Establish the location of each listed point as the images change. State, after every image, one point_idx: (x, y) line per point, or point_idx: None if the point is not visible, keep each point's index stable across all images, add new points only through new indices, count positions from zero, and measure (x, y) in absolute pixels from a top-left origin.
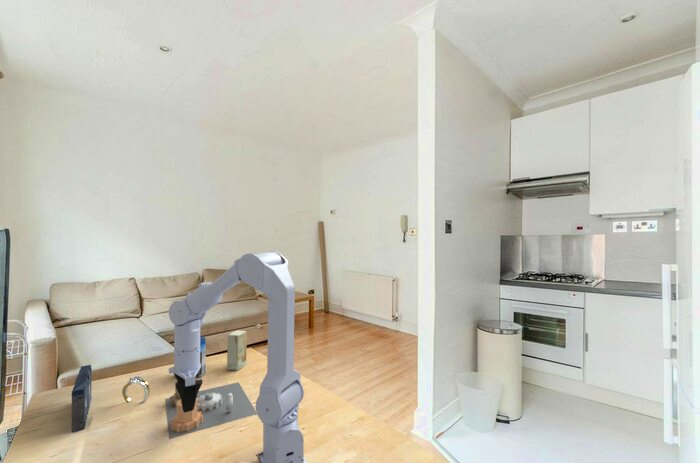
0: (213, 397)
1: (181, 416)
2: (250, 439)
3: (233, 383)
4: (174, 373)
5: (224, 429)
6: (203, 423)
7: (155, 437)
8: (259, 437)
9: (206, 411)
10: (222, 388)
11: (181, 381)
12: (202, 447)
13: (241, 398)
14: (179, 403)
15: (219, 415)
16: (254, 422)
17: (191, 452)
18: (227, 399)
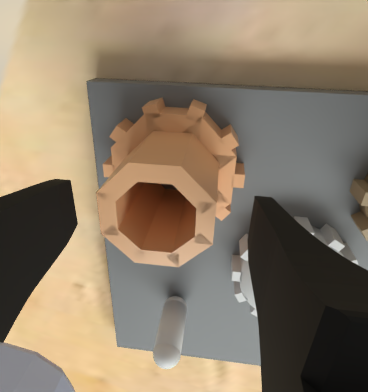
0: None
1: (126, 158)
2: None
3: None
4: (319, 312)
5: (106, 255)
6: None
7: (182, 23)
8: (25, 306)
9: (231, 244)
10: None
11: (275, 278)
12: (29, 179)
13: (248, 350)
14: (146, 177)
15: (169, 270)
16: (104, 321)
17: (12, 144)
18: (158, 338)
